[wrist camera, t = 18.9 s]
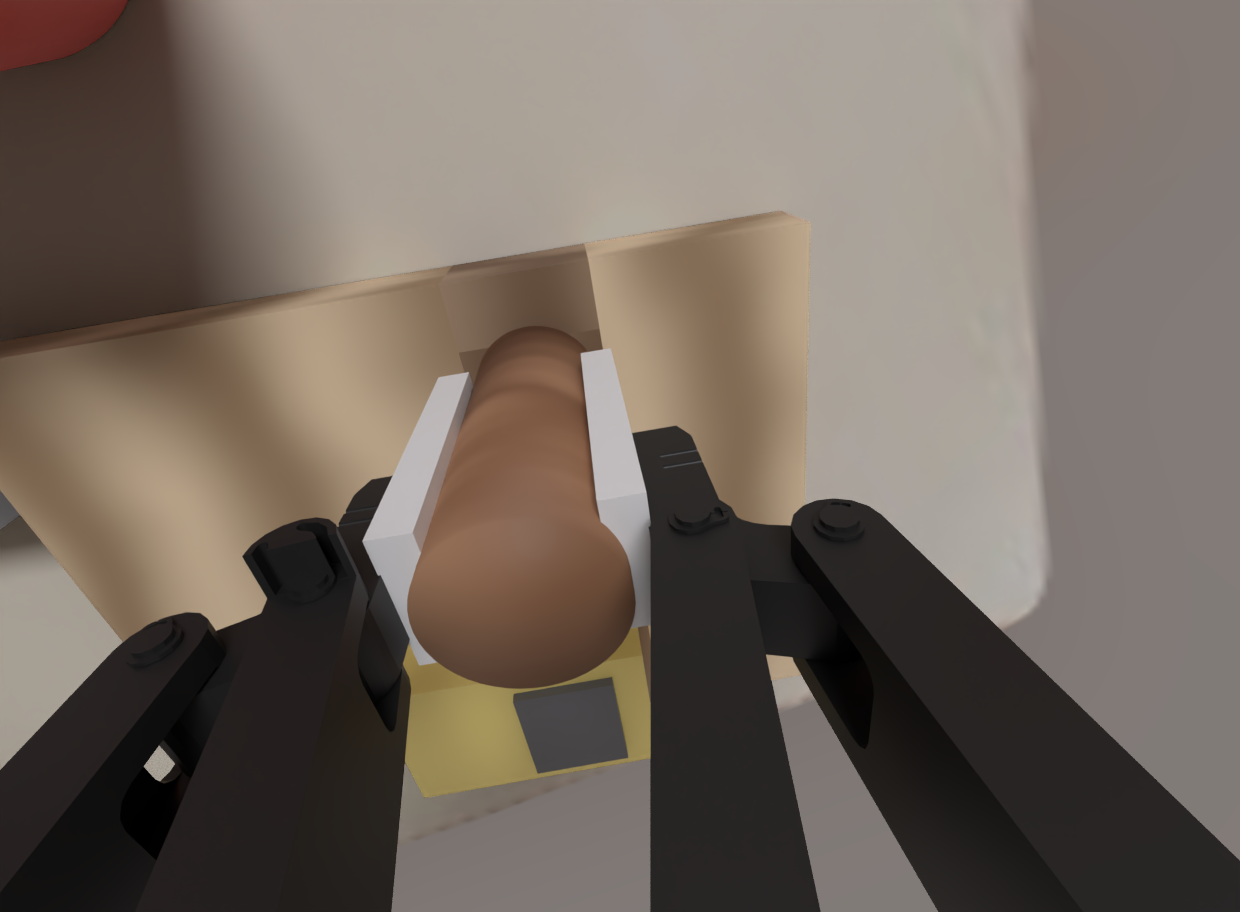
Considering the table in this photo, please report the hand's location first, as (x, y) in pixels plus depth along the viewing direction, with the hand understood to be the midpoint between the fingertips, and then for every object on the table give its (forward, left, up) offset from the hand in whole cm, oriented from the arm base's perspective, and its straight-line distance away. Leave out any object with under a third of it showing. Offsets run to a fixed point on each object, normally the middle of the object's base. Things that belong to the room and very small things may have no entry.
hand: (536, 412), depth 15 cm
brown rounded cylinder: (0, 0, -4) cm, 4 cm away
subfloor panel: (-4, -6, -5) cm, 9 cm away
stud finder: (-2, -10, -2) cm, 11 cm away
